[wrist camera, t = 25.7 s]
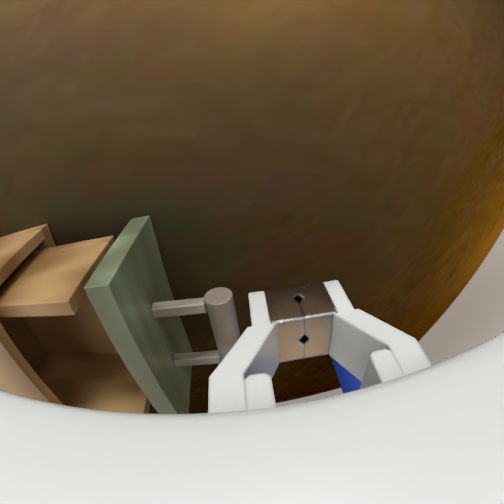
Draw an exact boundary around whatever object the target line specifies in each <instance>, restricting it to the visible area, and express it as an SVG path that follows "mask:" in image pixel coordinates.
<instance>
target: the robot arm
mask: <svg viewBox="0 0 504 504" xmlns="http://www.w3.org/2000/svg"><path fill="white" fill-rule="evenodd" d="M248 296H249V305H250V314H251V322H252V327H247V328H246V330H245V331H244V332H243V334H242V335H241V336H240V338H239V339H238V340H237V342H236V343H235V344H234V346H233V347H232V348H231V350H230V351H229V352H228V354H227V355H226V356H225V358H224V359H223V360H222V361H221V363H220V364H219V365H218V367H217V368H216V369H215V370H214V372H213V373H212V374H211V376H210V377H209V396H208V413H199V414H145V413H126V412H113V411H103V410H94V409H86V408H79V407H72V406H66V405H60V404H55V403H49V402H44V401H40V400H35V399H31V398H27V397H23V396H19V395H15V394H11V393H8V392H4V391H1V390H0V504H504V332H503V333H501V334H499V335H497V336H495V337H494V338H491V339H489V340H488V341H485V342H483V343H481V344H480V345H478V346H475V347H474V348H471V349H469V350H467V351H465V352H463V353H461V354H459V355H456V356H454V357H451V358H449V359H447V360H444V361H442V362H440V363H437V364H435V365H432V364H431V363H430V361H429V359H428V358H427V356H426V355H425V353H424V351H423V350H422V348H421V347H420V345H419V343H418V342H417V340H416V339H415V338H414V337H412V336H410V335H408V334H406V333H404V332H402V331H400V330H398V329H396V328H394V327H392V326H391V325H389V324H387V323H385V322H383V321H381V320H379V319H377V318H375V317H373V316H371V315H369V314H367V313H366V312H364V311H362V310H360V309H355V310H354V308H353V306H352V304H351V302H350V301H349V299H348V297H347V295H346V294H345V292H344V290H343V288H342V286H341V285H340V283H339V281H337V280H332V281H327V282H322V283H319V284H313V285H306V286H300V287H292V288H284V289H275V290H267V291H259V292H251V293H249V295H248ZM326 354H329V356H330V357H332V358H333V359H334V360H335V361H337V362H338V363H339V364H340V365H341V366H343V367H344V368H345V369H346V370H347V371H349V372H350V373H351V374H352V375H354V376H355V377H356V378H357V379H358V380H360V381H361V382H362V384H361V387H360V389H359V390H355V391H351V392H347V393H343V394H339V395H335V396H331V397H326V398H322V399H317V400H312V401H306V402H301V403H295V404H289V405H283V406H276V403H275V397H274V392H273V386H272V380H271V379H272V377H273V375H274V373H275V371H276V369H277V367H278V365H279V363H281V362H286V361H292V360H297V359H302V358H308V357H314V356H320V355H326Z"/></svg>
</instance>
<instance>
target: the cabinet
mask: <svg viewBox="0 0 504 504" xmlns="http://www.w3.org/2000/svg"><path fill="white" fill-rule="evenodd" d="M51 247H56V245H55V243H54V240H53V237H52V235H51V232H50V229H49V226H48V224H44V225H41V226H37V227H33V228H30V229H26V230H23V231H19V232H16V233H13V234H9V235H6V236H3V237H0V286H1V285H2V283H3V282H4V281H5V280H6V279H7V278H8V277H9V276H10V274H11V273H12V272H13V271H14V270H15V269H16V268H17V267H18V266H19V265H20V264H21V263H22V262H23V261H24V259H25V258H26V257H27V256H28V255H29V254H30V253H31V252H32V251H37V250H41V249H46V248H51ZM0 390H1V391H4V392H8V393H11V394H15V395H19V396H23V397H27V398H31V399H35V400H40V401H44V402H49V403H55V404H60V405H64V404H63V403H62V402H61V401H60V400H59V399H58V398H57V396H56V395H55V394H54V393H53V392H52V391H51V390H50V389H49V388H48V386H47V385H46V384H45V383H44V382H43V381H42V379H41V378H40V377H39V376H38V375H37V373H36V372H35V371H34V370H33V368H32V367H31V366H30V364H29V363H28V362H27V361H26V359H25V358H24V357H23V355H22V354H21V353H20V351H19V350H18V348H17V347H16V346H15V344H14V343H13V341H12V340H11V338H10V337H9V335H8V334H7V332H6V331H5V329H4V328H3V326H2V325H1V323H0Z"/></svg>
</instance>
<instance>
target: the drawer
mask: <svg viewBox="0 0 504 504" xmlns="http://www.w3.org/2000/svg"><path fill="white" fill-rule="evenodd" d="M206 312H208V316H209V320H210V323H211V327H212V331H213V334H214V338H215V341H216V345H217V348H218V350H214V351H203V352H193V351H192V349H191V346H190V343H189V341H188V338H187V335H186V332H185V329H184V327H183V324H182V321H181V318H180V316H181V315H191V314H201V313H206ZM0 323H1V325H2V326H3V328H4V329H5V331H6V332H7V334H8V335H9V337H10V338H11V340H12V341H13V343H14V344H15V346H16V347H17V348H18V350H19V351H20V353H21V354H22V355H23V357H24V358H25V359H26V361H27V362H28V363H29V364H30V366H31V367H32V368H33V370H34V371H35V372H36V373H37V375H38V376H39V377H40V378H41V379H42V381H43V382H44V383H45V384H46V385H47V386H48V388H49V389H50V390H51V391H52V392H53V393H54V394H55V395H56V396H57V398H58V399H59V400H60V401H61V402H62V403H63V404H64V405H66V406H72V407H79V408H86V409H94V410H103V411H113V412H126V413H145V414H149V409H150V403H151V404H152V405H153V407H154V408H155V409H156V411H157V412H158V413H159V414H189V399H190V385H191V371H192V365H204V364H216V363H221V361H222V360H223V359H224V358H225V356H226V355H227V354H228V352H229V351H230V350H231V348H232V347H233V346H234V344H235V343H236V342H237V340H238V339H239V338H240V331H239V326H238V321H237V315H236V310H235V305H234V299H233V294H232V292H231V290H229V289H228V288H224V287H218V288H214V289H211V290H209V291H208V292H207V293H206V294H205V296H204V297H202V298H193V299H184V300H174V297H173V294H172V291H171V288H170V285H169V282H168V279H167V275H166V272H165V269H164V265H163V262H162V259H161V255H160V252H159V248H158V245H157V241H156V237H155V234H154V230H153V226H152V222H151V218H150V216H144V217H138V218H133V219H131V220H130V221H129V223H128V224H127V225H126V227H125V228H124V229H123V231H122V232H121V233H120V235H119V236H118V238H117V239H116V240H115V239H114V236H108V237H102V238H97V239H91V240H86V241H81V242H76V243H71V244H66V245H61V246H56V247H51V248H46V249H41V250H37V251H32V252H31V253H30V254H29V255H28V256H27V257H26V258H25V259H24V261H23V262H22V263H21V264H20V265H19V266H18V267H17V268H16V269H15V270H14V271H13V272H12V273H11V274H10V276H9V277H8V278H7V279H6V280H5V281H4V282H3V283H2V285H1V286H0Z"/></svg>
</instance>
